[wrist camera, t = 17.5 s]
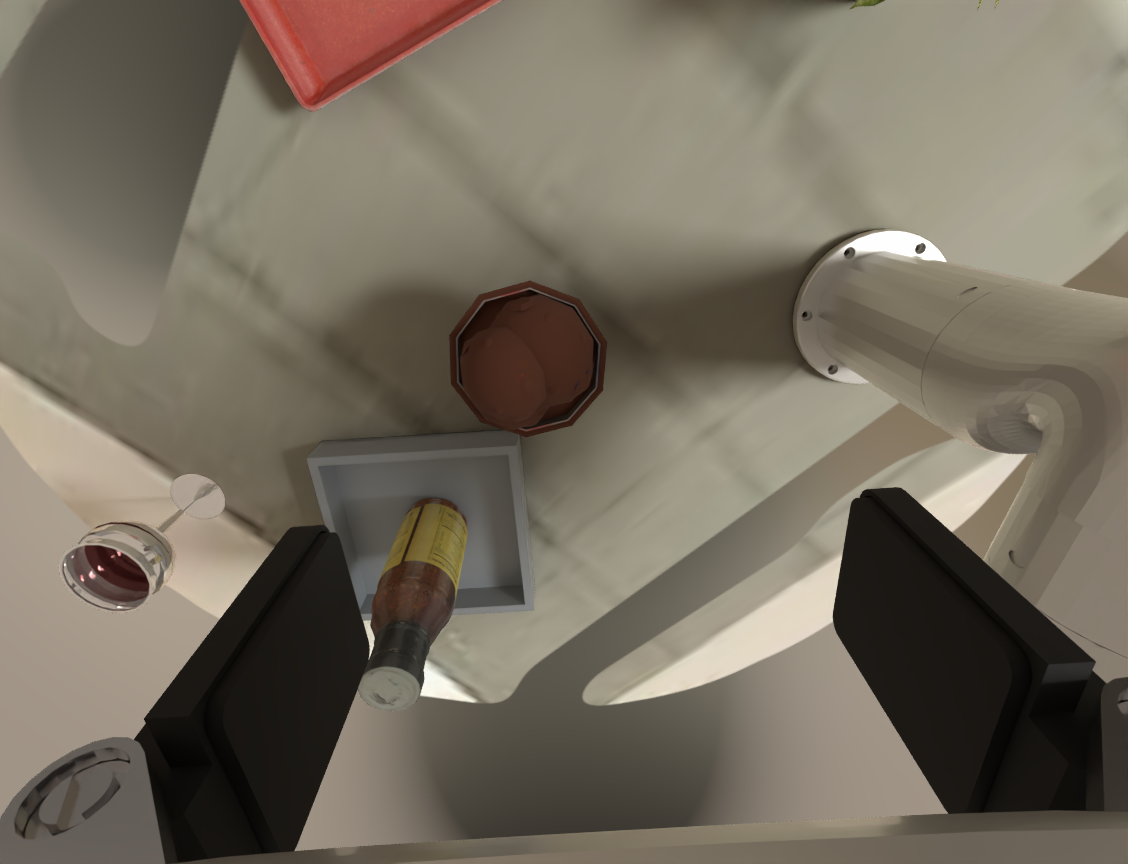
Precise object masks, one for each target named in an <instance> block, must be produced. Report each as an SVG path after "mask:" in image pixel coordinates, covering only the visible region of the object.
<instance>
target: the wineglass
mask: <svg viewBox="0 0 1128 864" xmlns="http://www.w3.org/2000/svg"><path fill="white" fill-rule="evenodd" d="M171 496H172V499H173V501H174V503H175V504H176V505H177V507H178V508H179V509H180V510H178V511H177V512H176V513H175V514H173V515H172V516H171V517H169V518H168V519H167V520H166V521H164V522H163V523H162V524H161V525H159V526H158V527H157V528H156V527H154V526H152V525H149V524H145V523H142V522H138V521H134V520H118V521H115V522H111V523H107V524H104V525H100V526H98V527H96V528H95V529H93V530H92V531H90V532H89V533H88V534H86V535H85V536H84V537H83V538H82V539H81V541H80V542H79V543H78V545H75V546H72V547H71V548H70V549H68V550H67V551H66V552H64V553H63V555H62V557H61V559H60V562H59V574H60V576H61V578H62V581H63V583H64V585H65V586H66V587H67V588H68V589H69V591H70V592H71V593H72V594H73V595H74V596H75V597H77V598H78V599H79V600H81V601H82V602H84V603H85V604H87V605H89V606H92V607H94V608H96V609H98V610H102V611H107V612H111V613H128V612H132V611H135V610H138V609H140V608H141V607H143V606H144V605H146V604H147V602H148V601H149V599H150V597H151V595H153V594H154V593H156V592H157V591H159V590H160V589H161V588H163V587H164V586H165V585H166V583H167V582H168V580H169V578H170V577H171V575H172V573H173V571H174V568H175V563H176V554H175V551H174V548H173V546H172V544H171V542H170V540H169V539H168V538H167V536H166V535H165V534H164V533H165V532H166V531H167V530H168V529H169V528H170V527H171V526H172V525H173V524H174V523H175V522H176V521H177V520H178V519H179V518H180V517H181V516H182V515H183V514H184V513H186V514H188V515H190V516H192V517H195V518H199V519H210V518H213V517H216V516H217V515H219V514H220V513H221V512H222V511H223V509H224V507H225V497H224V494H223V492H222V490H221V489H220V487H219V486H218V485H217V484H216V483H214V482H213V481H212V480H210V479H208V478H207V477H205V476H201V475H198V474H185V475H182V476H179V477H178V478H177V479H175V480H174V482H173V484H172V485H171Z"/></svg>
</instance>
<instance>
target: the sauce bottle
mask: <svg viewBox="0 0 1128 864" xmlns="http://www.w3.org/2000/svg"><path fill="white" fill-rule="evenodd" d="M467 536H468V532H467V520H466V517H465V516H464V514H463V513H462V511H461V510H460V509H459V508H458V507H457V506H456V505H454V504H453V503H452V502H451V501H449V500H445V499H438V498H431V499H429V498H427V499H423V500H421V501H419V502H417V503H416V504H414V505H413V507H412V508H411V509H410V510H409V511H408V512H407V513H406V516H405V517H404V518H403V520H402V523H401V525H400V528H399V530H398V533H397V536H396V538H395V541H394V543H393V546H392V549H391V551H390V554H389V556H388V559H387V562H386V564H385V567H384V569H383V572H382V574H381V577H380V580H379V582H378V586H377V591H376V594H375V596H374V599H373V602H372V609H371V613H372V618H371V628H372V631H373V633H374V637H375V641H374V647H373V650H372V653H371V656H370V658H369V660H368V663H367V666H366V669H365V671H364V674H363V677H362V679H361V682H360V684H359V687H358V691H359V694H360V696H361V698H362V699H363V700H364V701H365V702H366V703H367V704H368V705H370V706H372V707H375V708H377V709H381V710H386V711H400V710H404V709H406V708H408V707H410V706H411V705H412V704H414V703H415V702H416V701H417V699H418V698H419V696H420V693H421V689H422V686H423V683H424V672H423V670H424V665H425V661H426V656H427V655H428V653H429V649H430V646H431V645H432V643H433V642H434V640H435V639H436V637H437V636H438V634H439V633H440V631H441V630H442V629H443V628H444V627H445V625H446V624H447V623H448V621H449V619H450V617H451V615H452V613H453V609H454V605H455V600H456V594H457V589H458V583H459V578H460V573H461V567H462V562H463V557H464V552H465V547H466V542H467Z"/></svg>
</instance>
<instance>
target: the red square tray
mask: <svg viewBox="0 0 1128 864" xmlns="http://www.w3.org/2000/svg"><path fill="white" fill-rule="evenodd" d="M501 1H503V0H240V3H241V4H242V6H243V8H244V9H245V11H246V13H247V14H248V16H249V18H250V20H251V21H252V23H253V25H254V26H255V28H256V30H257V32H258V34H259V35H260V37H261V39H262V41H263V42H264V44H265V45H266V47H267V49H268V50H269V52H270V54H271V56H272V58H273V59H274V61H275V63H276V65H277V67H278V68H279V70H280V71H281V73H282V75H283V77H284V78H285V80H286V82H287V84H288V85H289V87H290V89H291V90H292V92H293V94H294V96H295V97H296V99H297V101H298V102H299V104H300V105H301V106H302V107H303V108H304V109H306V110H308V111H312V112H315V111H317V110H319V109H321V108H323V107H324V106H326V105H327V104H329V103H331V102H333V101H334V100H336V99H338V98H339V97H341V96H342V95H344V94H346V93H348V92H349V91H351V90H353V89H354V88H356V87H358V86H359V85H361V84H363V83H364V82H366V81H368V80H369V79H371V78H373V77H375V76H376V75H378V74H380V73H381V72H383V71H385V70H386V69H388V68H390V67H391V66H393V65H394V64H396V63H398V62H400V61H402V60H403V59H405V58H406V57H408V56H410V55H412V54H413V53H415V52H416V51H418V50H420V49H421V48H423V47H425V46H427V45H428V44H430V43H431V42H433V41H435V40H437V39H438V38H440V37H442V36H443V35H445V34H446V33H448V32H450V31H452V30H453V29H455V28H457V27H458V26H460V25H462V24H463V23H465V22H467V21H469V20H470V19H472V18H474V17H475V16H477V15H479V14H480V13H482V12H484V11H485V10H487V9H489V8H491V7H493V6H494V5H496V4H498V3H499V2H501Z"/></svg>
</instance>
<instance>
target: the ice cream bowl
mask: <svg viewBox="0 0 1128 864" xmlns="http://www.w3.org/2000/svg"><path fill="white" fill-rule="evenodd" d="M606 347H607V342H606V340H605V339H604V337H603V336H602V334H601V333H600V331H599V329H598V328H597V326H596V325H595V323H594V322H593V320H592V318H591V317H590V315H589V314H588V312H587V311H586V309H585V307H584V306H583V304H582V303H581V301H580V300H579V299H576V298H574V297H571V296H569V295H566V294H563V293H561V292H558V291H556V290H553V289H550V288H548V287H545V286H542V285H540V284H537V283H535V282H532V281H527V282H524V283H520V284H517V285H513V286H509V287H506V288H502V289H499V290H495V291H492V292H488V293H484V294H481V295H479V296H478V297H477V299H476V300H475V301H474V303H473V304H472V306H471V307H470V308H469V310H468V311H467V312H466V314H465V315H464V316H463V318H462V319H461V321H460V322H459V323H458V325H457V326H456V327H455V329H454V330H453V331H452V333H451V334H450V365H451V384H452V386H453V387H454V388H455V390H456V391H457V392H458V393H459V395H460V396H461V397H462V398H463V400H464V401H465V402H466V404H467V405H468V406H469V407H470V409H471V410H472V411H473V413H474V414H475V415H476V416H477V418H478V419H479V420H480V422H483V423H486V424H489V425H492V426H495V427H498V428H501V429H504V430H506V431H509V432H512V433H515V434H518V435H521V436H524V437H528V436H532V435H536V434H540V433H544V432H548V431H552V430H556V429H560V428H564V427H568V426H572V425H573V424H574V423H575V421H576V420H577V419H578V418H579V417H580V416H581V415H582V413H583V412H584V411H585V410H586V409H587V408H588V407H589V406H590V404H591V403H592V402H593V401H594V400H595V399H596V398H597V396H598V395H599V394H600V393H601V392H602V391H603V383H604V371H605V359H606Z"/></svg>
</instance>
